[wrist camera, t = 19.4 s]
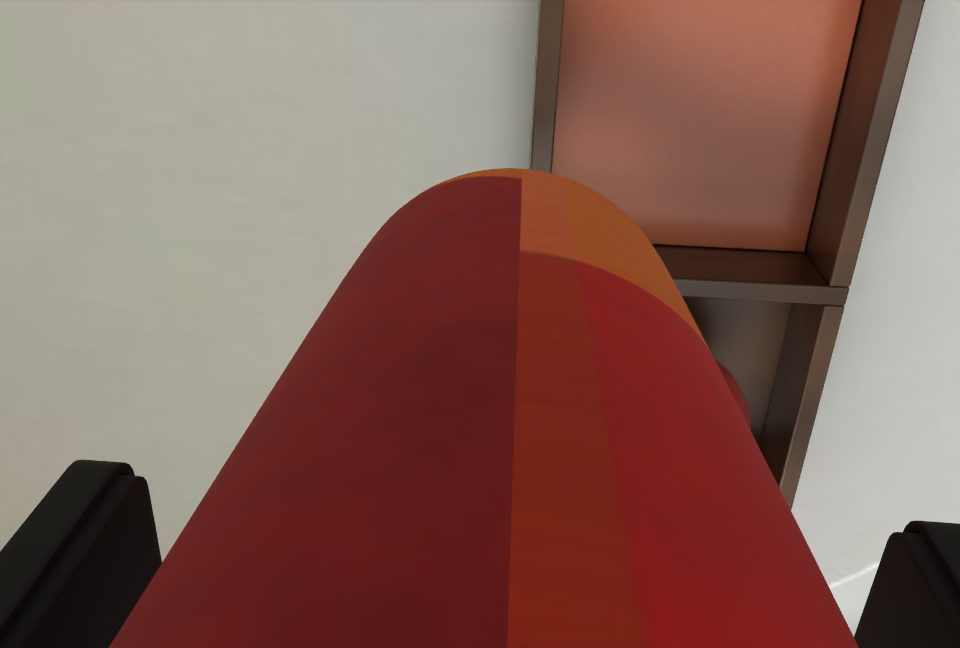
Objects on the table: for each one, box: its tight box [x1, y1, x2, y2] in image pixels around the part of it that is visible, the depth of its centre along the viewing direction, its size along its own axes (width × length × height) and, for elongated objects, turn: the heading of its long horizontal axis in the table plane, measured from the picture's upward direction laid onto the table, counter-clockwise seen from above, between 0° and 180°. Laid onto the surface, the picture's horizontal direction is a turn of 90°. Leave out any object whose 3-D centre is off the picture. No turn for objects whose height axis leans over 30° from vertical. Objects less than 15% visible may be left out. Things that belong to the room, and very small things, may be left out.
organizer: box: [529, 0, 925, 510], centre depth 30 cm, size 21×11×4 cm, turn 178°
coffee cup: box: [109, 168, 859, 648], centre depth 9 cm, size 8×8×15 cm
